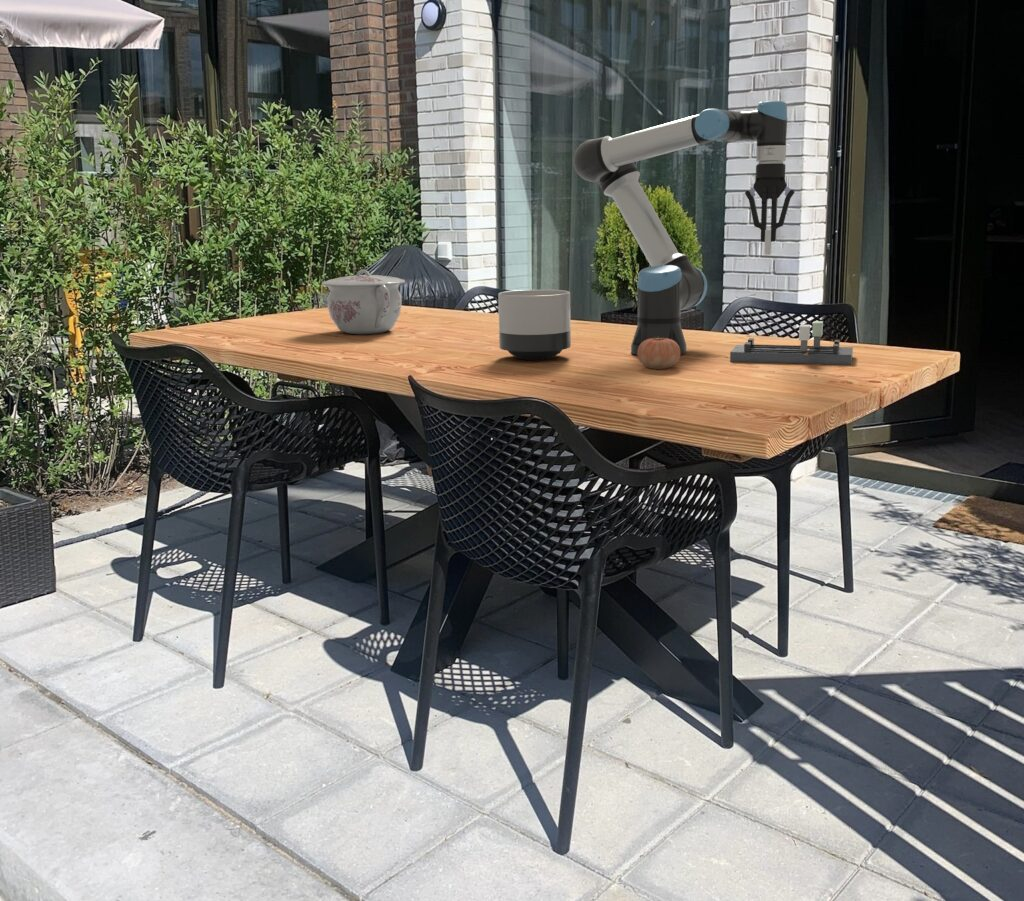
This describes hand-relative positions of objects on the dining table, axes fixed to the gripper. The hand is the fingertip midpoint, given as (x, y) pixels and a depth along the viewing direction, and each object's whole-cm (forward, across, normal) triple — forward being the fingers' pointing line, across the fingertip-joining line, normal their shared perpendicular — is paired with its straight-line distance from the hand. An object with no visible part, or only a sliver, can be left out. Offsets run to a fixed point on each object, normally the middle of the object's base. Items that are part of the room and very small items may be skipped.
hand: (767, 254), depth 289 cm
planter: (+27, -59, -21) cm, 68 cm away
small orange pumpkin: (+27, -23, -32) cm, 48 cm away
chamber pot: (+27, -132, +25) cm, 137 cm away
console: (+26, +8, -12) cm, 30 cm away
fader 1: (+24, +11, -15) cm, 30 cm away
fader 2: (+24, +14, -7) cm, 28 cm away
